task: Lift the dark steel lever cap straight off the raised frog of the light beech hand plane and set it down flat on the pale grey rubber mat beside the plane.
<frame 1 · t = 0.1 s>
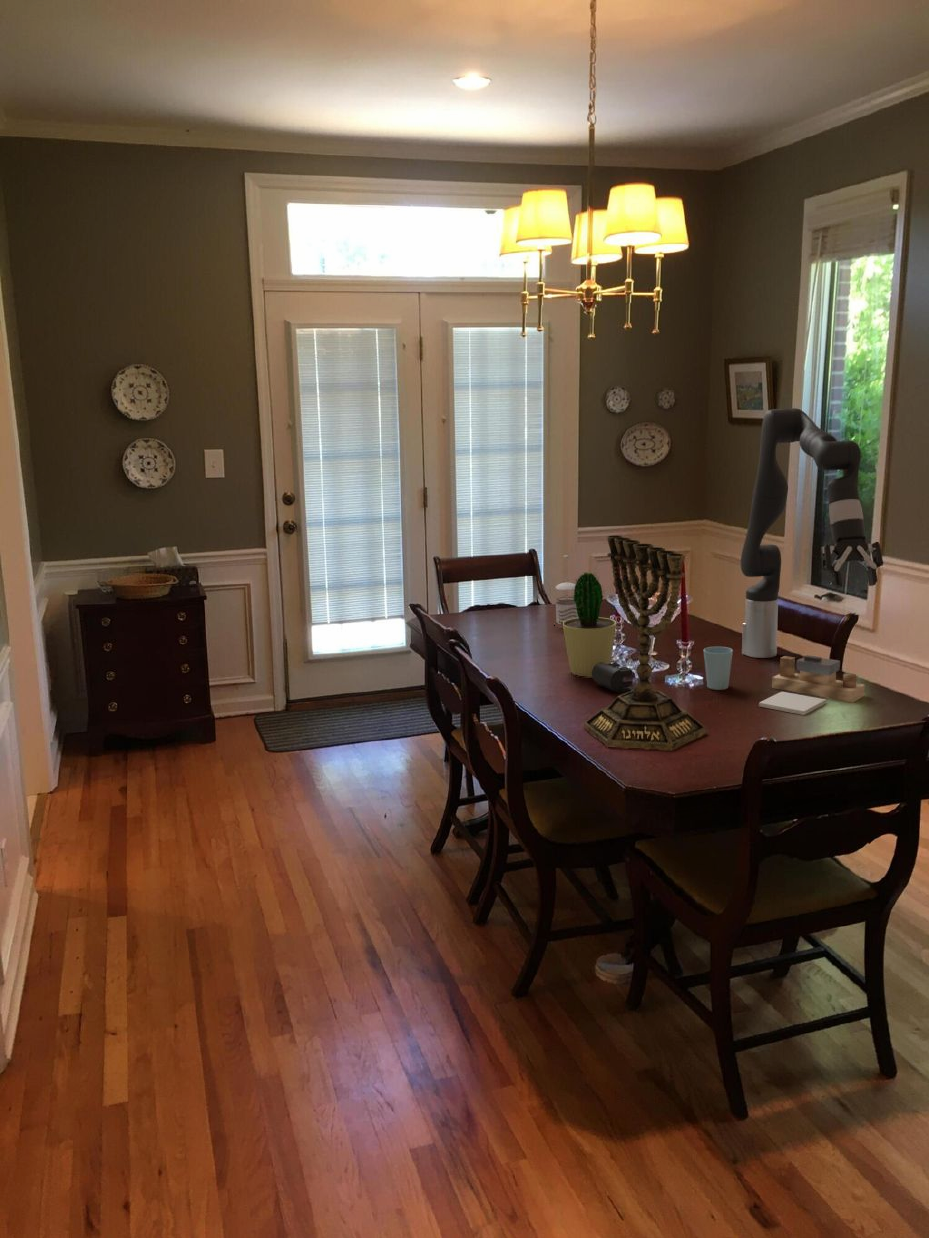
hand: (855, 586, 241), 31 cm above the table, tool tilted 20°, fingers open, 8 cm apart
plane body: (817, 691, 265), on the table
bench mat: (792, 704, 255), on the table
cup: (717, 687, 273), on the table
lever cap: (817, 669, 263), point 6 cm above the table, touching plane body
end cap: (612, 689, 275), on the table
menorah: (644, 731, 240), on the table
french press: (570, 625, 352), on the table
potted cactus: (590, 672, 292), on the table
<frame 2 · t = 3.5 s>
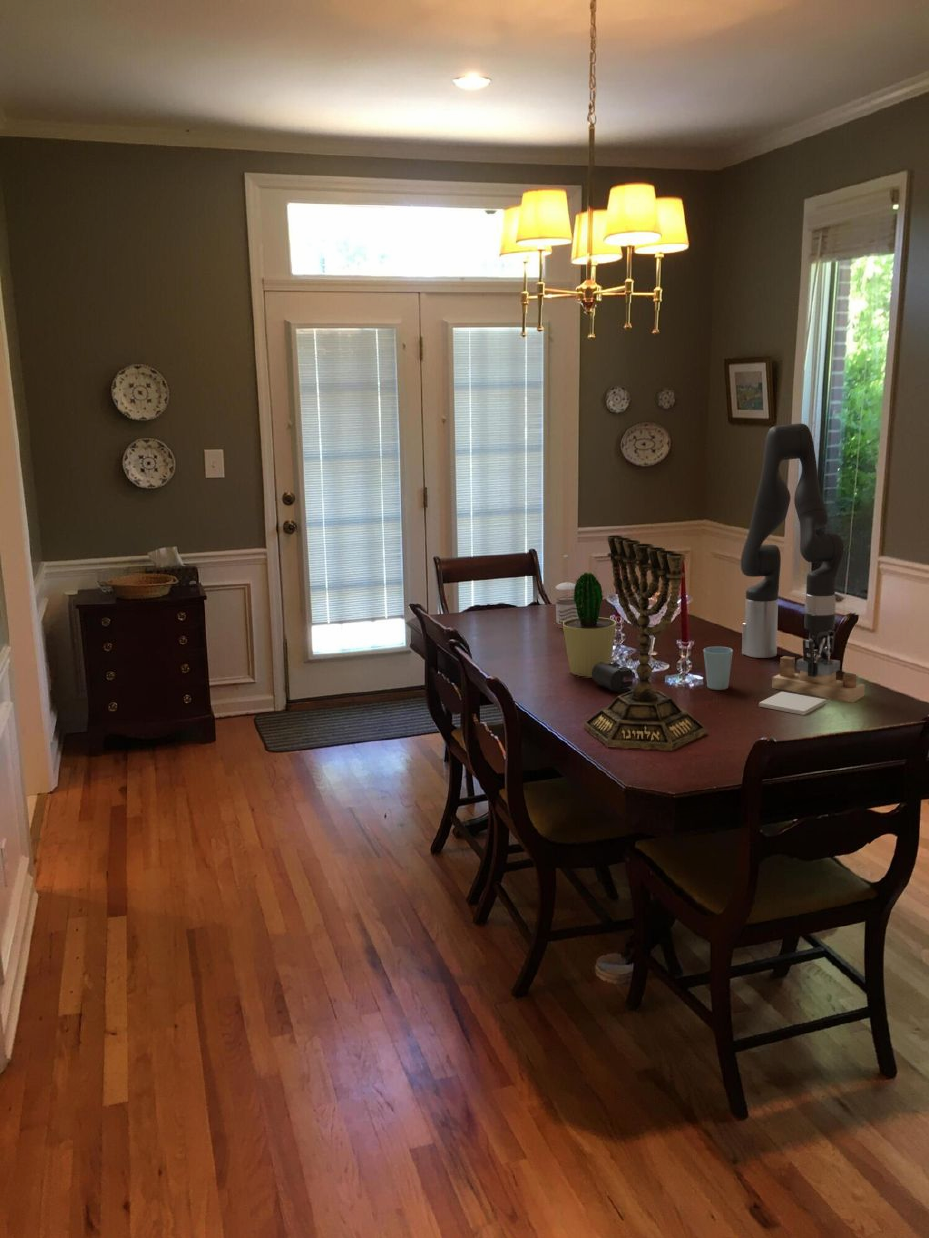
hand: (817, 673, 263), 5 cm above the table, tool pointing down, fingers closed on lever cap, 6 cm apart
lever cap: (817, 669, 263), point 6 cm above the table, touching gripper, plane body
everything else where it was.
when the fingers open (2 cm above the table, at t = 10.5 s): lever cap drops 1 cm, resting on bench mat.
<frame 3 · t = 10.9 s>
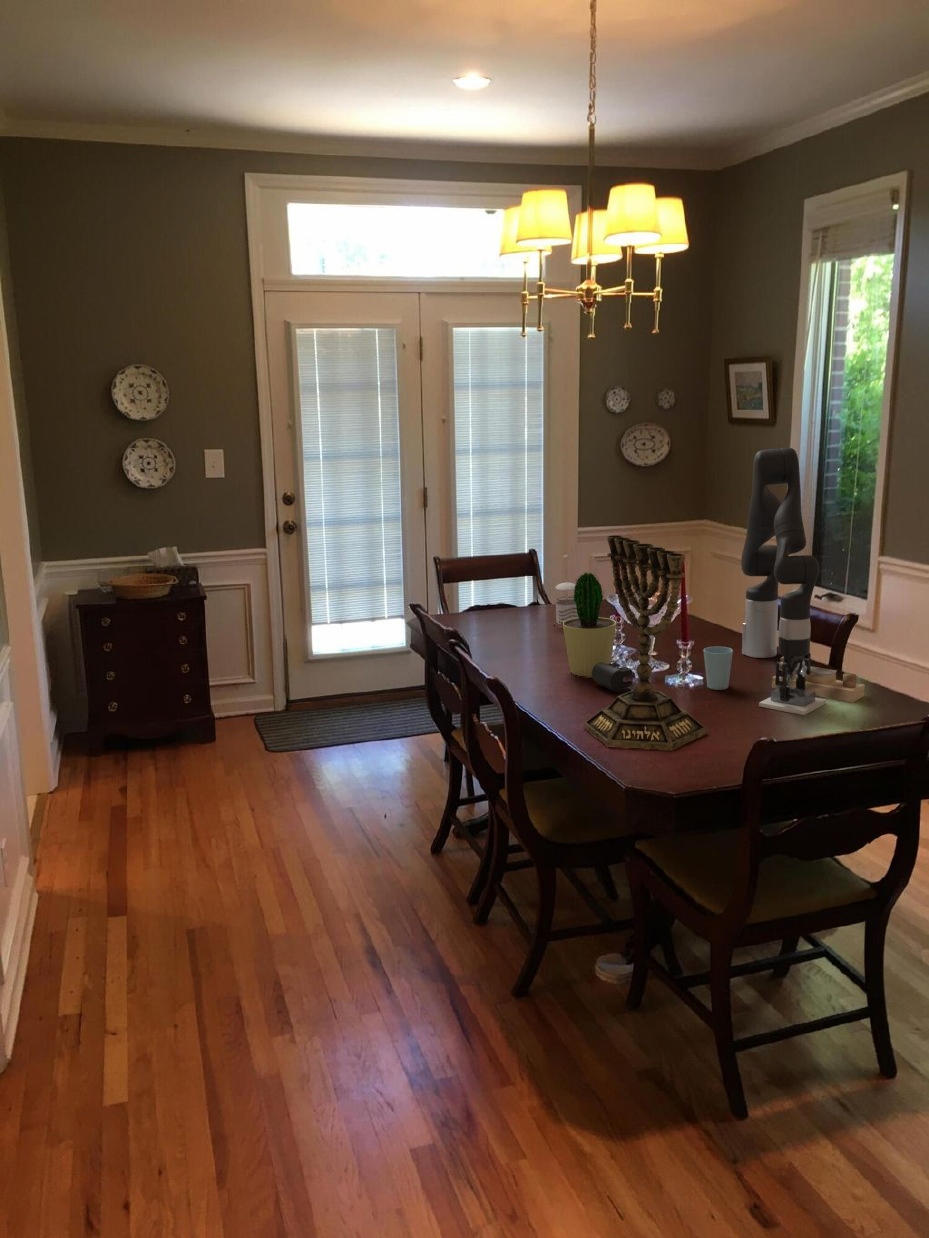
hand: (792, 696, 254), 2 cm above the table, tool pointing down, fingers open, 8 cm apart
lever cap: (792, 700, 255), point 1 cm above the table, touching bench mat
everything else where it was.
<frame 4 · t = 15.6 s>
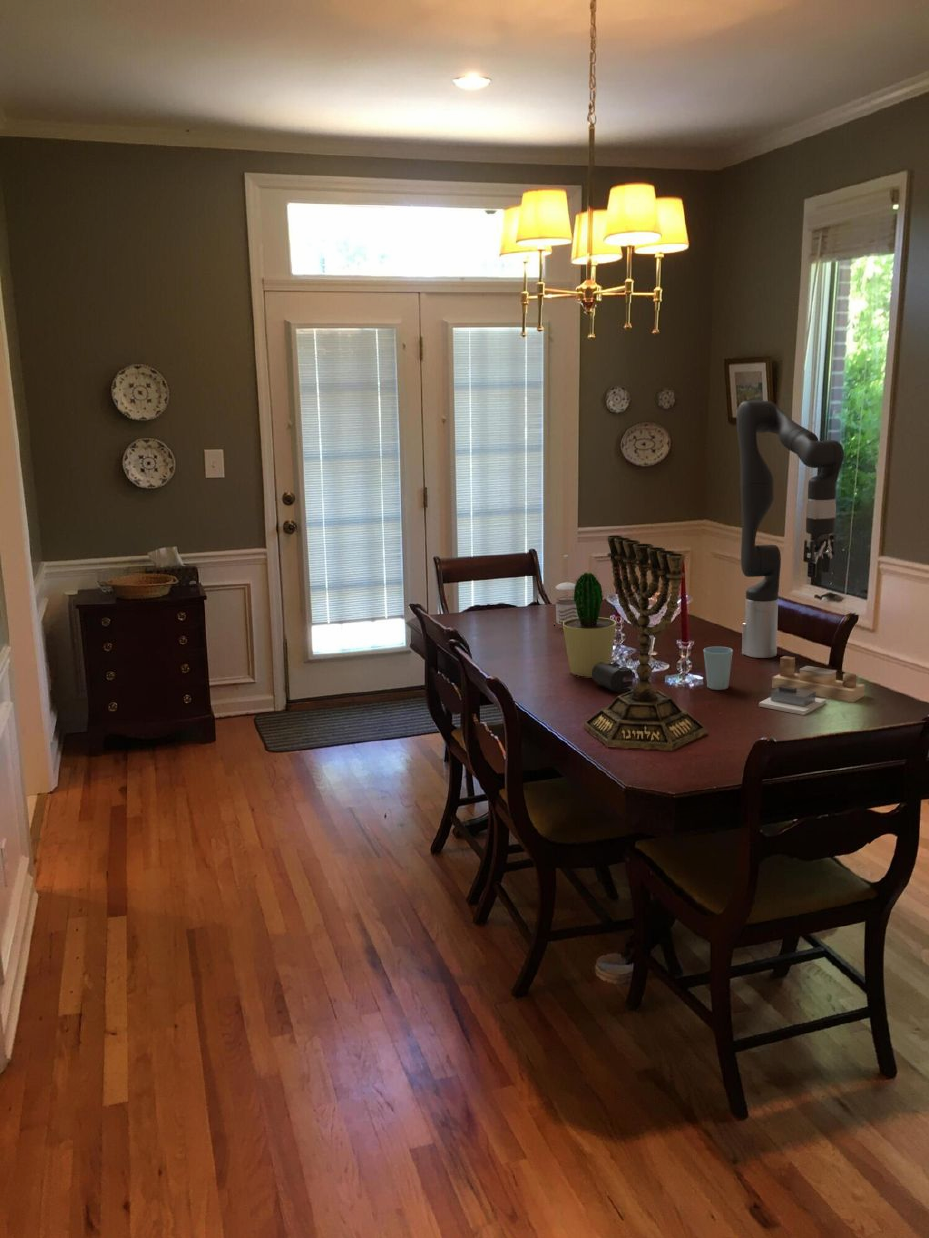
hand: (818, 574, 275), 28 cm above the table, tool pointing down, fingers open, 8 cm apart
nothing on the table moved.
at the end: lever cap inside the target area on the bench mat (0.2 cm from its centre), point 1.0 cm above the bench mat's base; lever cap touching bench mat; lever cap tilted 0° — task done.
